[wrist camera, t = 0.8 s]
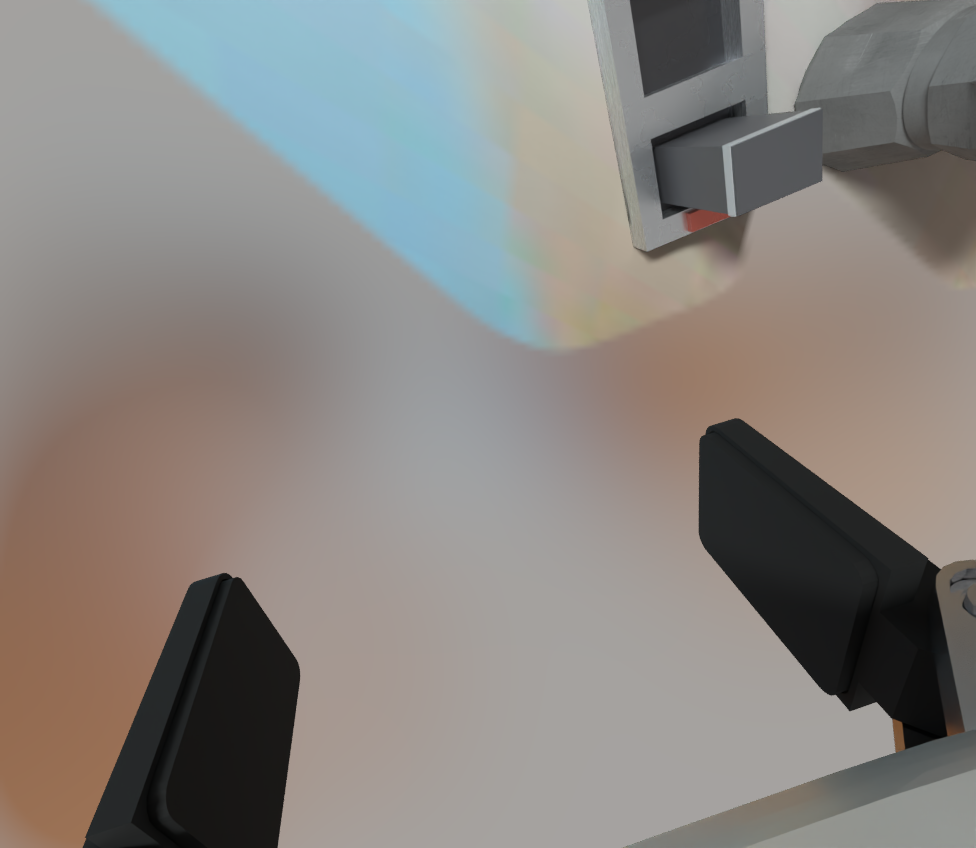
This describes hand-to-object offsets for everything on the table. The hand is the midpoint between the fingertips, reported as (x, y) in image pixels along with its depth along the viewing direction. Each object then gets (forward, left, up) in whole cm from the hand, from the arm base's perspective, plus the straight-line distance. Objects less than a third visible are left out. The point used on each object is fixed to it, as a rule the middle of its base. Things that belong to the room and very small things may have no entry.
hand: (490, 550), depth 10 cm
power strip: (-18, +8, -26) cm, 33 cm away
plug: (-16, +12, -26) cm, 33 cm away
